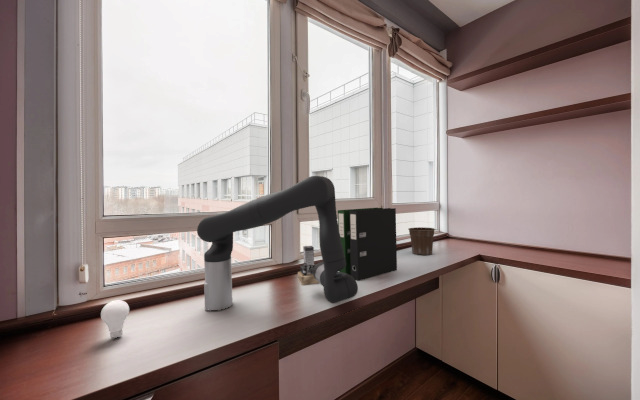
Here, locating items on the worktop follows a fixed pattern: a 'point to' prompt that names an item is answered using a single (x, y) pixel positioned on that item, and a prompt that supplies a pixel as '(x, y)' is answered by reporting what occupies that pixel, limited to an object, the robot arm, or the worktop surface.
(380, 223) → the lever arch files
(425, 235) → the plant pot
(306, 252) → the grey rectangular block
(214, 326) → the worktop surface
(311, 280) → the holder
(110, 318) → the light bulb
